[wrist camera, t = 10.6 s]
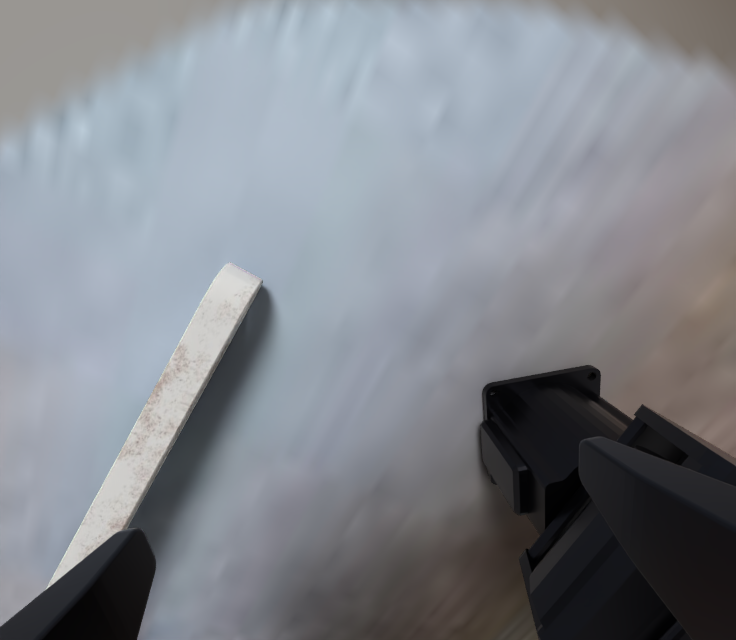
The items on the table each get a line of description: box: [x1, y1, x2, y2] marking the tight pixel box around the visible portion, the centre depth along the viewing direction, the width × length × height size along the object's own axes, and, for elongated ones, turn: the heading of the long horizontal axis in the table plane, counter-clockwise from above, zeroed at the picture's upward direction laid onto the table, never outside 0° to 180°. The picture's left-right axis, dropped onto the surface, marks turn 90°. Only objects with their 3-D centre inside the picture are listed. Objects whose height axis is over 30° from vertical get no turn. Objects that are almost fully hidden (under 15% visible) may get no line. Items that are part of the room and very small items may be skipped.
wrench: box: [46, 262, 263, 589], centre depth 18 cm, size 8×2×30 cm
